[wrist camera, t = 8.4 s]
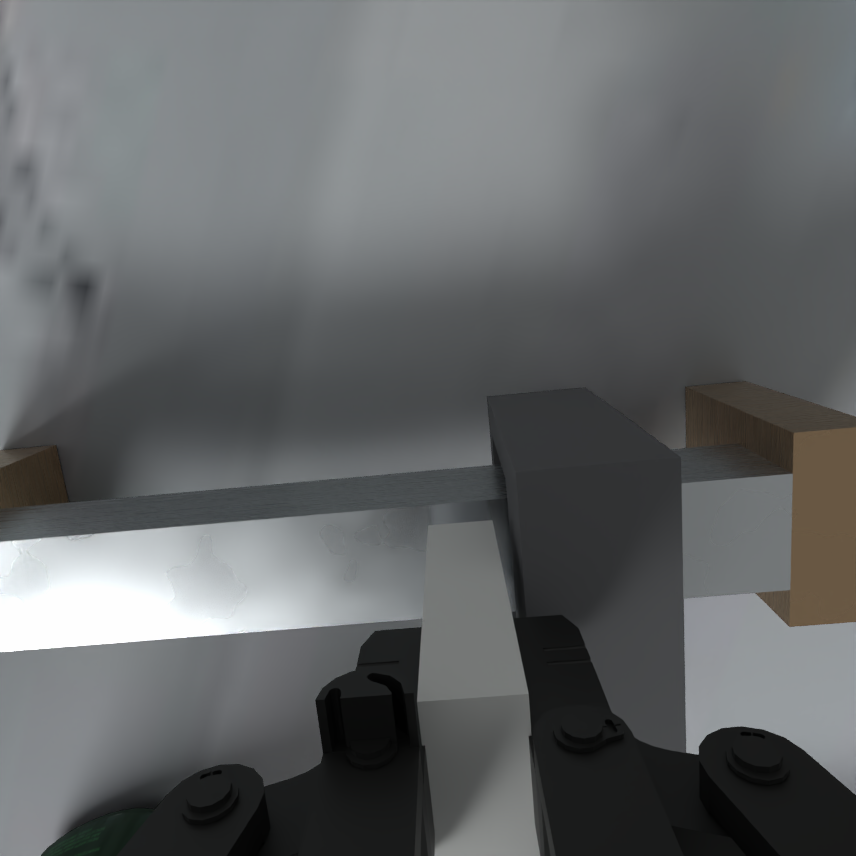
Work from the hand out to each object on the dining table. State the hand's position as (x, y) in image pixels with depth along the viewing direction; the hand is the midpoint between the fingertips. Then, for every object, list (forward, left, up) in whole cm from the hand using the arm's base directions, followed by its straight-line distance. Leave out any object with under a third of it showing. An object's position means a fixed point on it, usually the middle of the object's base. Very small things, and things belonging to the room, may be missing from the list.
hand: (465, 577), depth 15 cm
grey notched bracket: (+3, 0, -6) cm, 6 cm away
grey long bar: (-3, 0, -8) cm, 8 cm away
